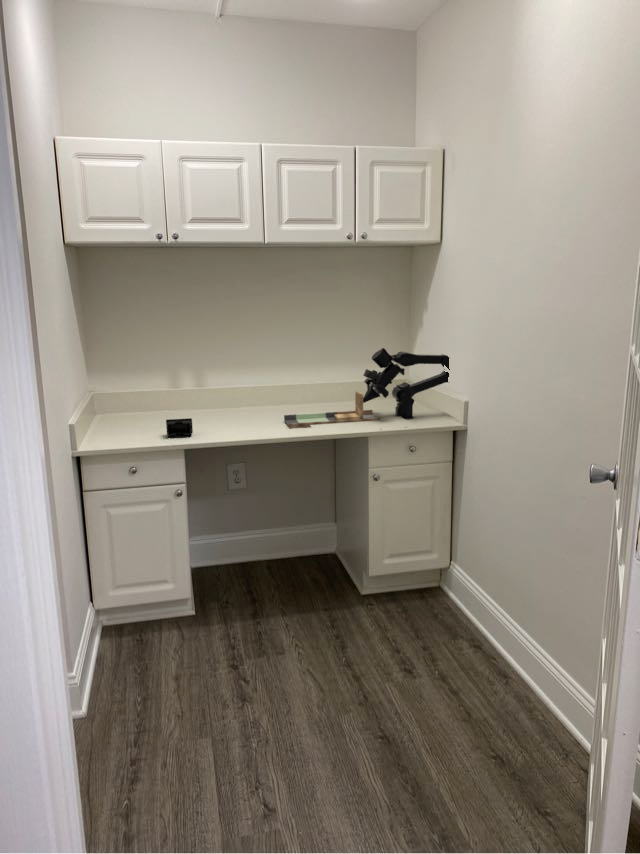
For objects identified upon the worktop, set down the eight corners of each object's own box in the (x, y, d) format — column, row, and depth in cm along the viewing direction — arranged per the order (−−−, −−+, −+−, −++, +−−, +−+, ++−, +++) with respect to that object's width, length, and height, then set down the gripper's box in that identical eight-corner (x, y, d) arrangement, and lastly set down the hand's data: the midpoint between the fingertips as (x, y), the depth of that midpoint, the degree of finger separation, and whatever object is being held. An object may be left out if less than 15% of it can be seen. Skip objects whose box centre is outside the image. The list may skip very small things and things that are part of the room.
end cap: (192, 433, 267) (191, 416, 266) (192, 437, 260) (191, 420, 259) (167, 434, 266) (166, 418, 264) (166, 438, 259) (165, 422, 257)
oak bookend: (358, 416, 287) (358, 391, 285) (363, 419, 281) (363, 394, 278) (334, 417, 285) (333, 392, 283) (338, 421, 279) (337, 395, 276)
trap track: (371, 416, 292) (371, 409, 291) (379, 421, 281) (379, 414, 280) (284, 421, 284) (284, 415, 283) (288, 427, 273) (288, 420, 272)
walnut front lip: (379, 421, 281) (379, 417, 281) (380, 422, 280) (380, 418, 279) (288, 427, 273) (288, 423, 273) (289, 428, 272) (289, 424, 271)
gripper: (368, 359, 289) (344, 385, 289) (381, 365, 271) (355, 393, 271) (385, 376, 292) (361, 402, 292) (399, 383, 274) (373, 411, 275)
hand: (362, 402), depth 283 cm, fingers closed
